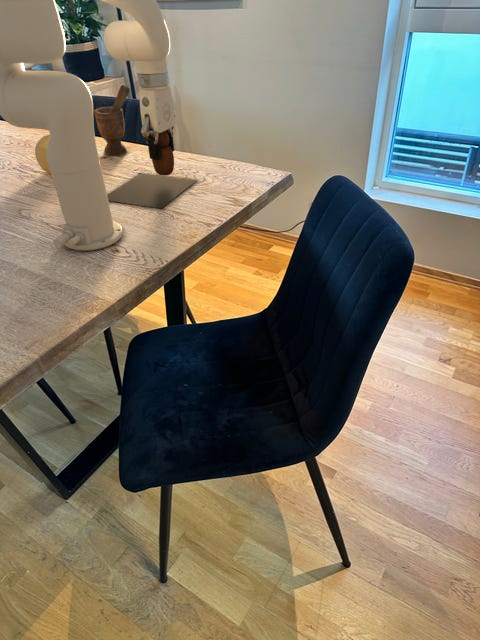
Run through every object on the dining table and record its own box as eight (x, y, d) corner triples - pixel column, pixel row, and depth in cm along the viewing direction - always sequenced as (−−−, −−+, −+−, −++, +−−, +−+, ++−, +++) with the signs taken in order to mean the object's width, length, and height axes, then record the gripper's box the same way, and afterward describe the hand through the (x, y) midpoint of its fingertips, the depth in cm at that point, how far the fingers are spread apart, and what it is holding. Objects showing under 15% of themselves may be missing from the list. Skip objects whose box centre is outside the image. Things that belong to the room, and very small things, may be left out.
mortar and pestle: (137, 147, 145) (127, 80, 133) (140, 154, 139) (129, 85, 127) (102, 150, 143) (88, 83, 131) (103, 158, 136) (88, 88, 124)
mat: (161, 209, 104) (161, 208, 104) (99, 200, 110) (99, 199, 110) (196, 181, 119) (196, 180, 119) (140, 174, 124) (140, 173, 124)
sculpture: (57, 181, 121) (45, 141, 114) (33, 172, 127) (21, 134, 120) (90, 169, 128) (81, 131, 122) (66, 162, 134) (56, 125, 127)
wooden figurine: (177, 175, 118) (171, 117, 109) (157, 178, 116) (149, 119, 107) (171, 168, 123) (165, 111, 114) (151, 171, 121) (143, 113, 112)
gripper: (148, 87, 98) (158, 166, 109) (182, 75, 111) (188, 147, 122) (120, 86, 100) (133, 163, 111) (157, 74, 113) (165, 145, 124)
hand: (162, 154), depth 116 cm, fingers closed on wooden figurine, 6 cm apart
